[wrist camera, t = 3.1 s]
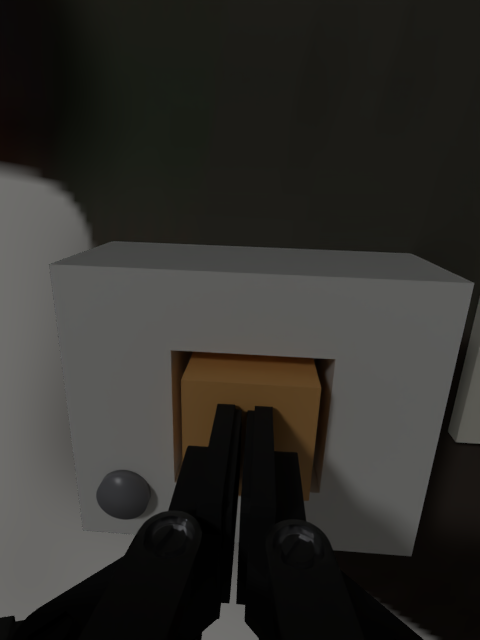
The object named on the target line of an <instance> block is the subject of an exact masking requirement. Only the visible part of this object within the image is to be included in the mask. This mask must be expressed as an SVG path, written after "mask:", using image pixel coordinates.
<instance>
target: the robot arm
mask: <svg viewBox="0 0 480 640" xmlns="http://www.w3.org/2000/svg"><path fill="white" fill-rule="evenodd" d="M241 425H242V410H238V409H235V405H234V404H217V408H216V413H215V418H214V422H213V427H212V431H211V436H210V441H209V445H208V447H204V446H188V447H187V449H186V452H185V456H184V459H183V462H182V466H181V469H180V473H179V476H178V479H177V483H176V486H175V489H174V493H173V496H172V499H171V503H170V506H169V509H168V511H165V512H161V513H158V514H156V515H154V516H152V517H151V518H149V519H148V520H147V521H145V522H144V523H143V525H142V526H141V527H140V529H139V530H138V532H137V534H136V536H135V537H134V539H133V541H132V543H131V545H130V546H129V549H128V550H127V552H126V554H125V555H124V556H123V557H121V558H120V559H118V560H117V561H115V562H113V563H112V564H110V565H108V566H107V567H105V568H103V569H102V570H100V571H99V572H97V573H95V574H94V575H92V576H90V577H89V578H87V579H85V580H84V581H82V582H81V583H79V584H77V585H76V586H74V587H72V588H71V589H69V590H68V591H66V592H64V593H62V594H61V595H59V596H58V597H56V598H54V599H53V600H51V601H49V602H48V603H46V604H44V605H43V606H41V607H40V608H38V609H37V610H36V611H34V612H33V613H32V614H31V615H29V616H28V617H27V618H26V619H25V620H22V621H15V617H14V616H9V617H2V618H0V640H201V638H202V631H204V630H205V629H206V628H207V627H208V626H209V625H211V624H212V623H213V622H214V621H215V620H216V619H219V616H220V606H221V603H229V600H230V590H231V577H232V565H233V554H234V542H235V531H236V519H237V507H238V495H239V477H240V451H241ZM238 553H239V554H238V578H237V601H236V604H243V605H245V622H246V624H247V625H248V626H249V627H250V628H251V630H252V631H253V632H254V633H255V634H256V635H257V637H258V638H259V640H423V639H422V638H421V637H420V636H419V635H417V634H416V633H415V632H414V631H413V630H412V629H410V628H409V627H408V626H407V625H406V624H404V623H403V622H402V621H401V620H400V619H398V618H397V617H396V616H395V615H394V614H392V613H391V612H390V611H389V610H388V609H386V608H385V607H384V606H383V605H382V604H380V603H379V602H378V601H377V600H376V599H374V598H373V597H372V596H371V595H370V594H368V593H367V592H366V591H365V590H364V589H362V588H361V587H360V586H359V585H358V584H356V583H355V582H354V581H353V580H352V579H351V578H349V577H348V576H347V575H346V574H345V573H343V572H342V571H341V570H340V568H339V565H338V563H337V560H336V557H335V554H334V551H333V549H332V546H331V543H330V541H329V540H328V538H327V536H326V535H325V534H324V533H323V531H322V530H321V529H320V528H318V527H317V526H315V525H313V524H312V523H310V522H306V515H305V507H304V499H303V491H302V483H301V475H300V467H299V459H298V453H297V452H282V451H274V433H273V407H268V406H255V411H254V410H248V411H247V424H246V438H245V451H244V464H243V477H242V490H241V505H240V527H239V552H238Z"/></svg>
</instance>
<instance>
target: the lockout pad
mask: <svg viewBox="0 0 480 640" xmlns="http://www.w3.org/2000/svg"><path fill="white" fill-rule="evenodd" d="M448 432H449V434H450V435H451V436H452V438H453V439H454V440H455V442H461V443H476V444H480V298H479V302H478V307H477V311H476V315H475V319H474V323H473V328H472V332H471V336H470V340H469V345H468V349H467V353H466V357H465V361H464V366H463V370H462V374H461V378H460V382H459V387H458V391H457V395H456V399H455V403H454V408H453V412H452V416H451V420H450V424H449V429H448Z"/></svg>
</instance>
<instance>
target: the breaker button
mask: <svg viewBox="0 0 480 640" xmlns="http://www.w3.org/2000/svg"><path fill="white" fill-rule="evenodd" d="M320 395H321V385H320V381H319V378H318V374H317V370H316V367H315V363H314V359H313V358H304V357H285V356H267V355H249V354H231V353H212V352H194V351H193V354H192V356H191V358H190V361H189V363H188V365H187V367H186V370H185V372H184V374H183V377H182V379H181V404H182V457H183V459H184V456H185V452H186V449H187V447H188V446H204V447H208V445H209V441H210V436H211V431H212V427H213V422H214V418H215V413H216V408H217V404H234V405H235V409H238V410H242V425H241V451H240V477H239V495H238V496H241V490H242V477H243V464H244V451H245V438H246V424H247V411H248V410H254V411H255V406H268V407H273V433H274V451H282V452H297V453H298V459H299V467H300V475H301V483H302V491H303V499H304V501H309V495H310V486H311V477H312V468H313V458H314V449H315V440H316V431H317V422H318V413H319V404H320Z"/></svg>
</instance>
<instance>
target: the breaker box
mask: <svg viewBox="0 0 480 640" xmlns="http://www.w3.org/2000/svg"><path fill="white" fill-rule="evenodd" d="M49 267H50V275H51V283H52V290H53V299H54V306H55V313H56V322H57V329H58V338H59V346H60V353H61V361H62V369H63V377H64V385H65V393H66V401H67V409H68V417H69V425H70V433H71V440H72V448H73V456H74V464H75V471H76V480H77V487H78V496H79V503H80V511H81V519H82V527H83V531H96V532H108V533H122V534H134V535H136V534H137V532H138V530H139V529H140V527H141V526H142V525H143V523H144V522H145V521H147V520H148V519H149V518H151V517H152V516H154V515H156V514H158V513H161V512H165V511H168V509H169V506H170V503H171V499H172V496H173V493H174V489H175V486H176V483H177V479H178V476H179V473H180V469H181V466H182V462H183V457H182V404H181V379H182V377H183V374H184V372H185V370H186V367H187V365H188V363H189V361H190V358H191V356H192V354H193V351H194V352H212V353H231V354H249V355H267V356H285V357H304V358H313V359H314V363H315V367H316V370H317V374H318V378H319V381H320V385H321V395H320V404H319V413H318V422H317V431H316V440H315V449H314V458H313V468H312V477H311V486H310V495H309V501H304V507H305V515H306V522H310V523H312V524H313V525H315V526H317V527H318V528H320V529H321V530H322V531H323V533H324V534H325V535H326V536H327V538H328V540H329V541H330V543H331V546H332V549H333V550H338V551H350V552H363V553H376V554H389V555H401V556H412V551H413V547H414V543H415V538H416V534H417V530H418V525H419V521H420V517H421V512H422V508H423V504H424V499H425V495H426V491H427V486H428V482H429V478H430V473H431V469H432V465H433V460H434V456H435V452H436V447H437V443H438V439H439V434H440V430H441V426H442V421H443V417H444V413H445V408H446V404H447V400H448V395H449V391H450V387H451V382H452V378H453V374H454V369H455V365H456V361H457V356H458V352H459V347H460V343H461V339H462V334H463V330H464V326H465V321H466V317H467V313H468V308H469V304H470V300H471V295H472V291H473V287H474V283H473V282H471V281H468V280H466V279H464V278H462V277H460V276H458V275H456V274H454V273H451V272H449V271H447V270H445V269H443V268H441V267H439V266H437V265H434V264H432V263H430V262H428V261H426V260H424V259H422V258H420V257H418V256H415V255H413V254H411V253H387V252H362V251H338V250H314V249H290V248H265V247H241V246H217V245H193V244H168V243H144V242H120V241H112V242H109V243H106V244H104V245H101V246H98V247H95V248H93V249H90V250H87V251H84V252H82V253H79V254H76V255H74V256H71V257H68V258H65V259H62V260H60V261H57V262H55V263H51V264H49ZM240 505H241V496H238V507H237V519H236V531H235V542H237V543H239V527H240Z"/></svg>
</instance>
